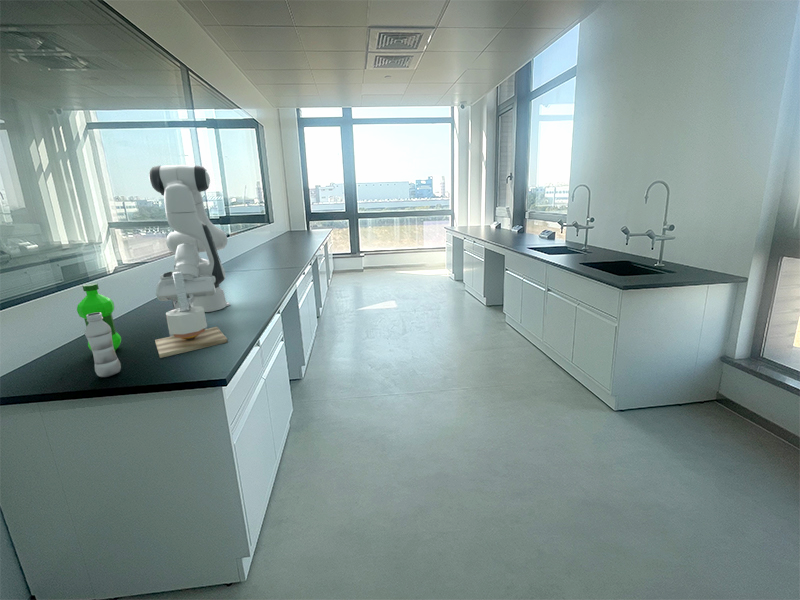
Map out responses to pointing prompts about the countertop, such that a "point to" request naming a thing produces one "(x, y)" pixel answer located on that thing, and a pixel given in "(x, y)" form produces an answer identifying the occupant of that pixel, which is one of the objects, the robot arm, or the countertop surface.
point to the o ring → (188, 334)
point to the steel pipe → (182, 296)
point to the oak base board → (189, 342)
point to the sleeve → (186, 320)
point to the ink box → (175, 305)
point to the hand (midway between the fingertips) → (186, 306)
